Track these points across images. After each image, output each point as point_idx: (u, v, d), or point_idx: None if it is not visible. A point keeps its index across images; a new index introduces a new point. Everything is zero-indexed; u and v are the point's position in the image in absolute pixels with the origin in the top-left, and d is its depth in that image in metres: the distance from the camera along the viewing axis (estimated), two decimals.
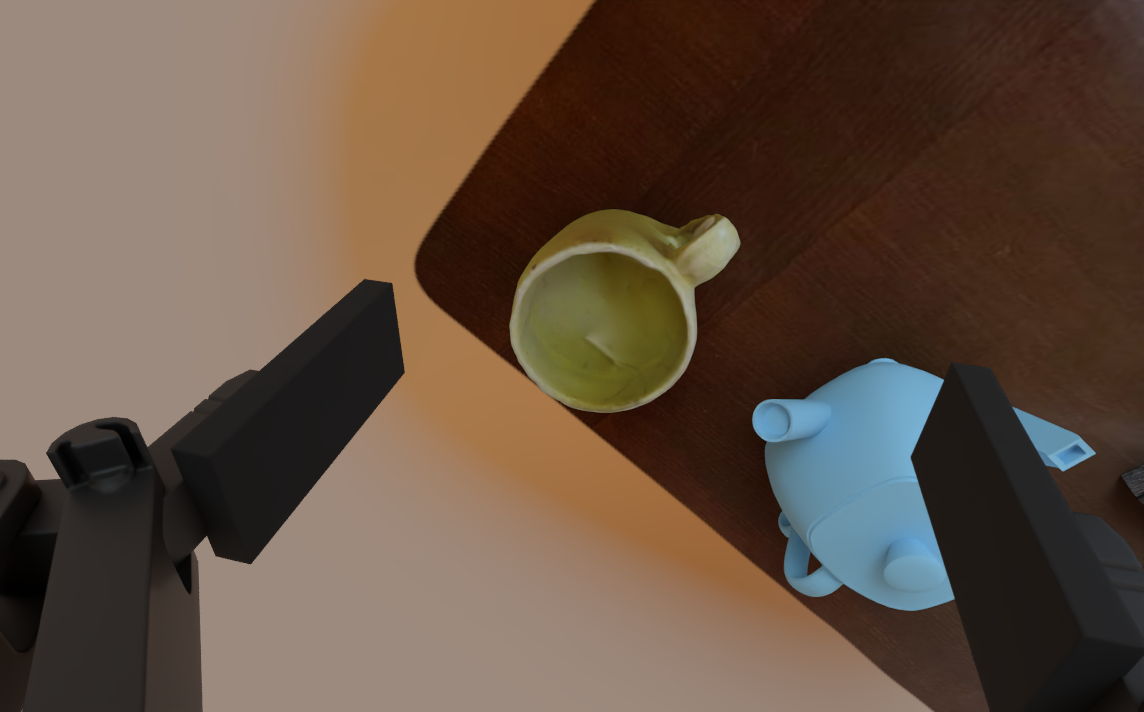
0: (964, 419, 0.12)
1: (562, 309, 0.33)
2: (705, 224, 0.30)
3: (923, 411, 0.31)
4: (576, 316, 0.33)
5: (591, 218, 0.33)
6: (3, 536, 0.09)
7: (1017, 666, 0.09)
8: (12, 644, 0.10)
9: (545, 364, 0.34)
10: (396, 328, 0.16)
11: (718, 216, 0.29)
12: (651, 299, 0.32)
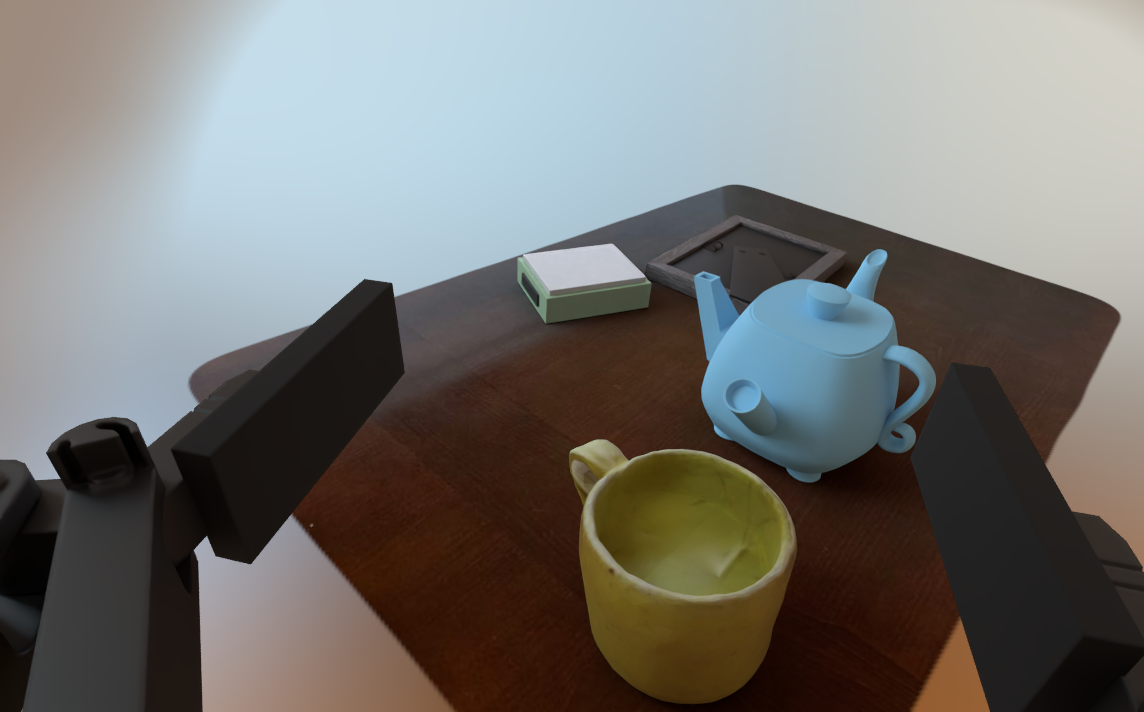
0: (964, 419, 0.12)
1: None
2: (581, 481, 0.33)
3: (716, 351, 0.42)
4: (692, 585, 0.28)
5: None
6: (3, 536, 0.09)
7: (1017, 666, 0.09)
8: (12, 644, 0.10)
9: None
10: (396, 328, 0.16)
11: None
12: (657, 513, 0.31)
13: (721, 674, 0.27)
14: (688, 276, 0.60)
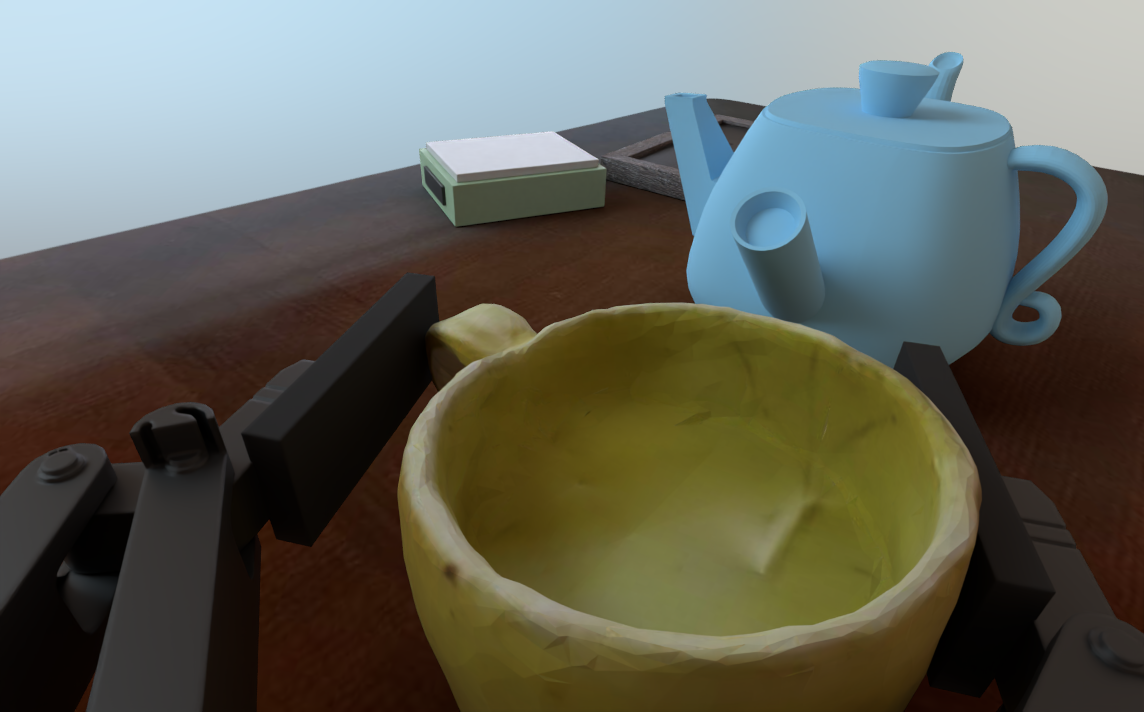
0: None
1: None
2: None
3: (708, 200, 0.25)
4: (697, 598, 0.11)
5: None
6: (78, 519, 0.10)
7: None
8: (81, 623, 0.10)
9: None
10: (437, 321, 0.17)
11: (428, 362, 0.16)
12: (609, 442, 0.14)
13: None
14: (659, 167, 0.44)
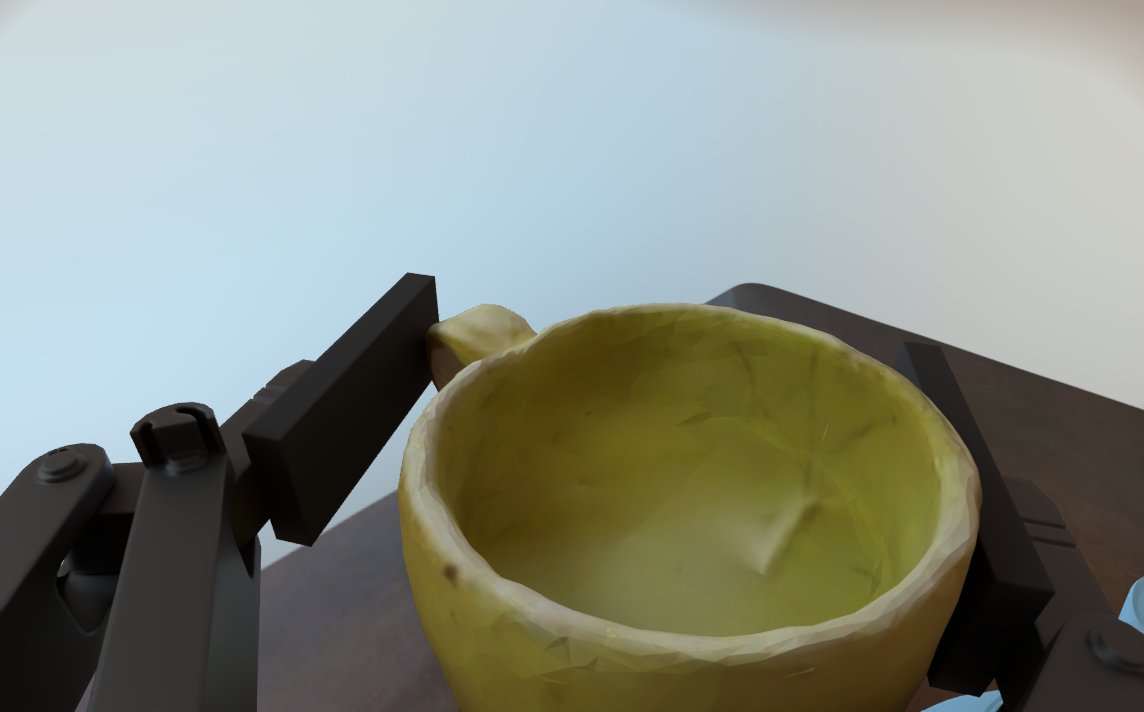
0: None
1: None
2: None
3: None
4: (697, 598, 0.11)
5: None
6: (79, 519, 0.10)
7: None
8: (81, 623, 0.10)
9: None
10: (437, 321, 0.17)
11: (428, 362, 0.16)
12: (608, 443, 0.14)
13: None
14: None
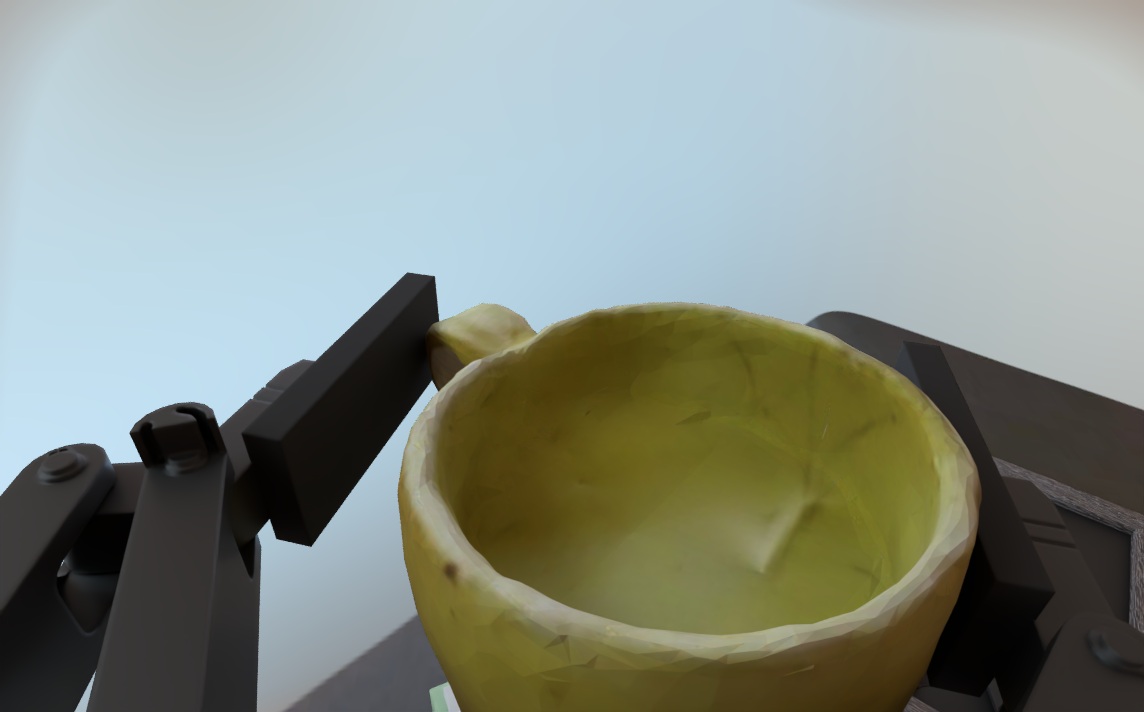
0: None
1: None
2: None
3: None
4: (697, 597, 0.11)
5: None
6: (79, 519, 0.10)
7: None
8: (81, 623, 0.10)
9: None
10: (437, 320, 0.17)
11: (428, 362, 0.16)
12: (608, 442, 0.14)
13: None
14: None
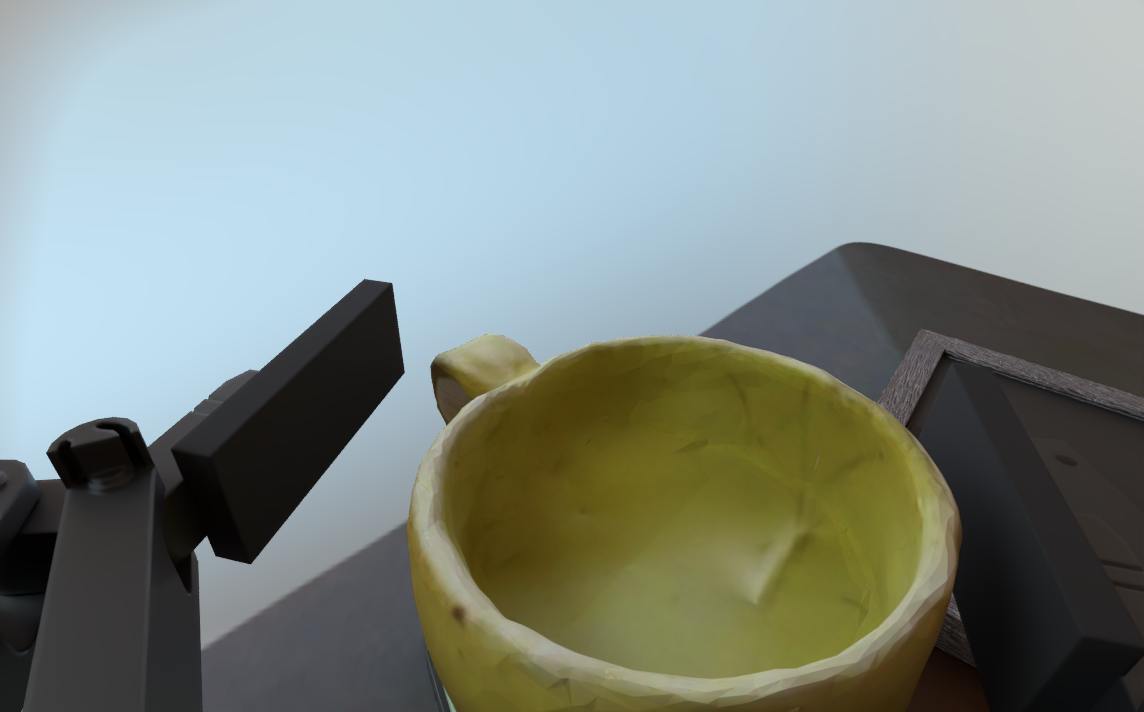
0: (964, 419, 0.12)
1: (680, 667, 0.11)
2: None
3: None
4: (693, 628, 0.11)
5: None
6: (3, 536, 0.09)
7: (1017, 666, 0.09)
8: (12, 644, 0.10)
9: None
10: (396, 328, 0.16)
11: (434, 390, 0.17)
12: (608, 471, 0.14)
13: None
14: None
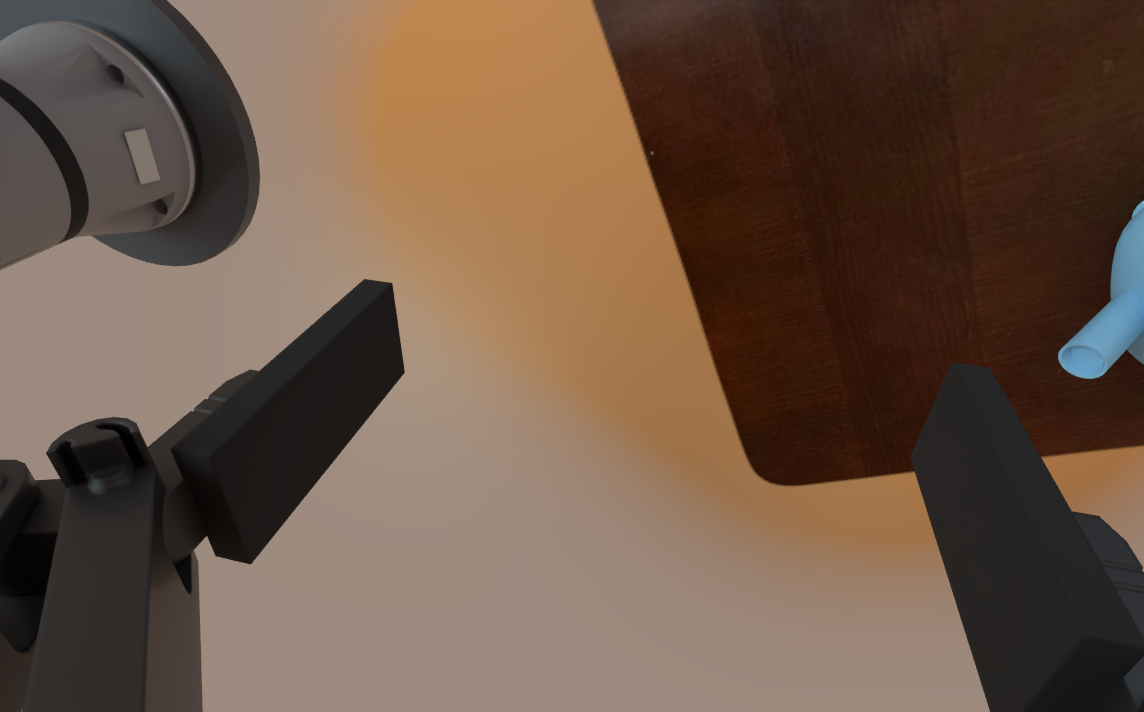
0: (964, 419, 0.12)
1: None
2: None
3: None
4: None
5: None
6: (3, 536, 0.09)
7: (1017, 666, 0.09)
8: (12, 644, 0.10)
9: None
10: (396, 328, 0.16)
11: None
12: None
13: None
14: None
